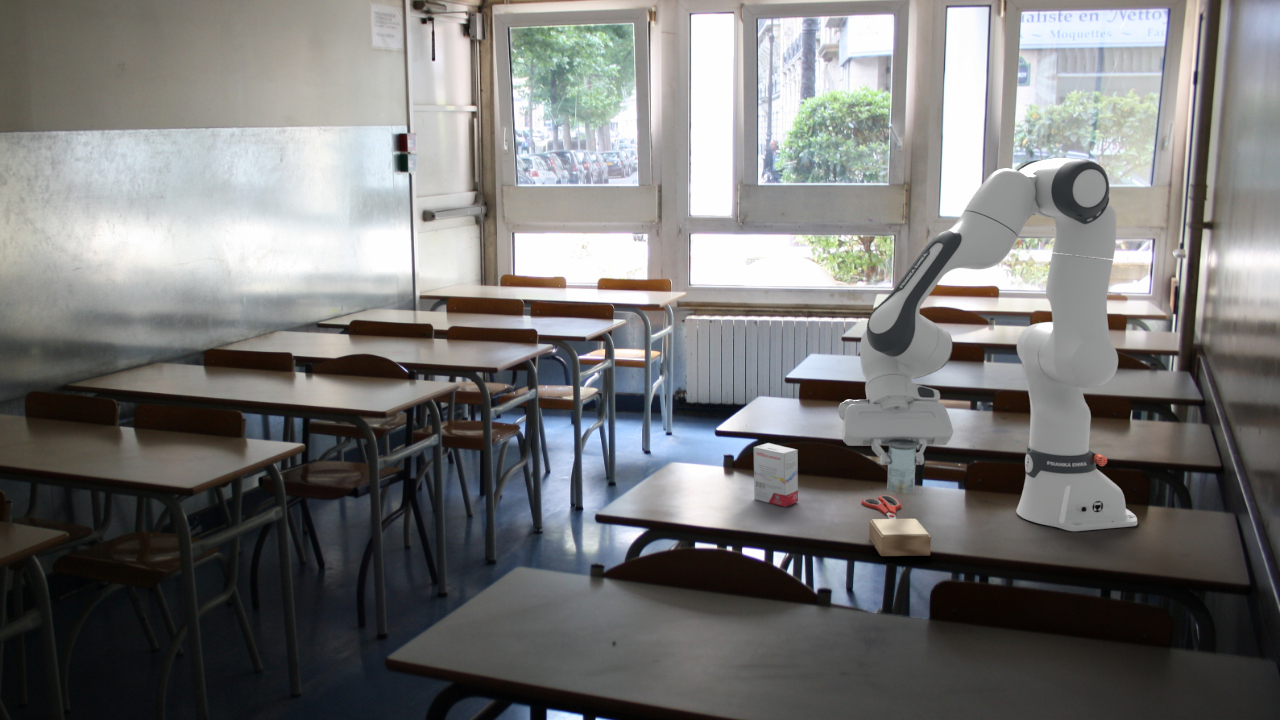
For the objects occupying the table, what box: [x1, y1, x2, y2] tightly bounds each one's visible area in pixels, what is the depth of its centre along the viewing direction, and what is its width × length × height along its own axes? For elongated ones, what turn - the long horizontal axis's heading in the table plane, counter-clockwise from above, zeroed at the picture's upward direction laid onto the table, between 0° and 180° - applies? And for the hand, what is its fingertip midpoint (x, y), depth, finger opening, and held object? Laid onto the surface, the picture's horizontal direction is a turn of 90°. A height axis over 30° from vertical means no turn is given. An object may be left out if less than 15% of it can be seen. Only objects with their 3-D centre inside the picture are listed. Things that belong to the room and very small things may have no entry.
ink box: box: [753, 442, 799, 508], centre depth 214 cm, size 9×5×12 cm, turn 44°
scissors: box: [861, 494, 902, 519], centre depth 205 cm, size 8×21×2 cm, turn 9°
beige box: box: [868, 518, 932, 557], centre depth 187 cm, size 9×9×4 cm
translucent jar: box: [886, 439, 917, 494], centre depth 185 cm, size 5×5×9 cm
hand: (902, 463), depth 184 cm, fingers closed on translucent jar, 5 cm apart
